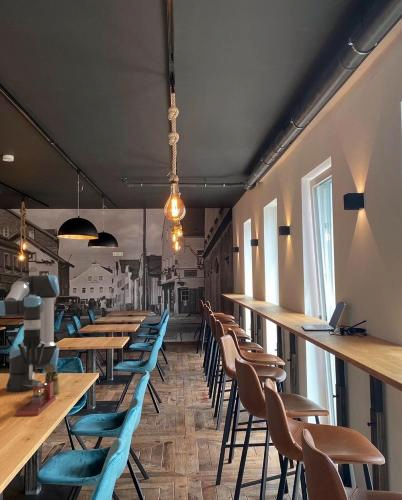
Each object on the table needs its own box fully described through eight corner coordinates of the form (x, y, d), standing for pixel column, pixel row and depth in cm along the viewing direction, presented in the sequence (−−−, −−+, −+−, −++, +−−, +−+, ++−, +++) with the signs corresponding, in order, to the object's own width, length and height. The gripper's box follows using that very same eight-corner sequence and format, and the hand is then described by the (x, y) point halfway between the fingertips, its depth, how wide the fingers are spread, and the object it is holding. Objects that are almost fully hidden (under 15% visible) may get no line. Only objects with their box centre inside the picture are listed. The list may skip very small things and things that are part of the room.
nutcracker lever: (39, 388, 219) (40, 384, 220) (48, 388, 219) (48, 383, 220) (22, 385, 198) (23, 379, 198) (32, 384, 198) (32, 379, 198)
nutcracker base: (36, 400, 222) (36, 380, 222) (55, 399, 222) (55, 380, 223) (16, 415, 197) (16, 393, 197) (38, 415, 197) (38, 393, 198)
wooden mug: (39, 398, 225) (39, 363, 226) (44, 391, 238) (45, 358, 239) (56, 397, 226) (56, 363, 227) (61, 390, 239) (61, 358, 240)
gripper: (15, 329, 201) (14, 381, 199) (43, 329, 201) (42, 380, 199) (21, 328, 208) (21, 377, 206) (48, 327, 208) (48, 376, 207)
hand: (31, 378), depth 203 cm, fingers closed
